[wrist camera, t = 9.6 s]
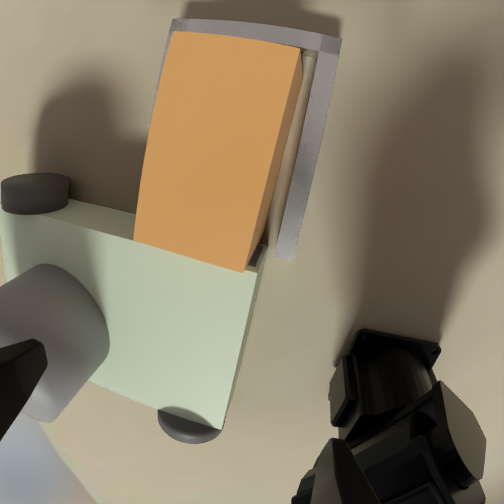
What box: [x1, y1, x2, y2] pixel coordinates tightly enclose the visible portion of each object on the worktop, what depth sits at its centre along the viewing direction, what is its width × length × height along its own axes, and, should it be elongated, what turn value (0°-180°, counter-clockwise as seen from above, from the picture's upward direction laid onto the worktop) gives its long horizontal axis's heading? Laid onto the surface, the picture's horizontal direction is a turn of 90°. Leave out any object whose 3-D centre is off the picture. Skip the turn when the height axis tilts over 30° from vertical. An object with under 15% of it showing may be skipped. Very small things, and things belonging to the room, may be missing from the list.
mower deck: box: [0, 173, 268, 444], centre depth 17 cm, size 18×15×10 cm
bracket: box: [149, 19, 342, 261], centre depth 16 cm, size 9×12×2 cm
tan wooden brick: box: [133, 31, 303, 273], centre depth 14 cm, size 5×9×6 cm, turn 167°
